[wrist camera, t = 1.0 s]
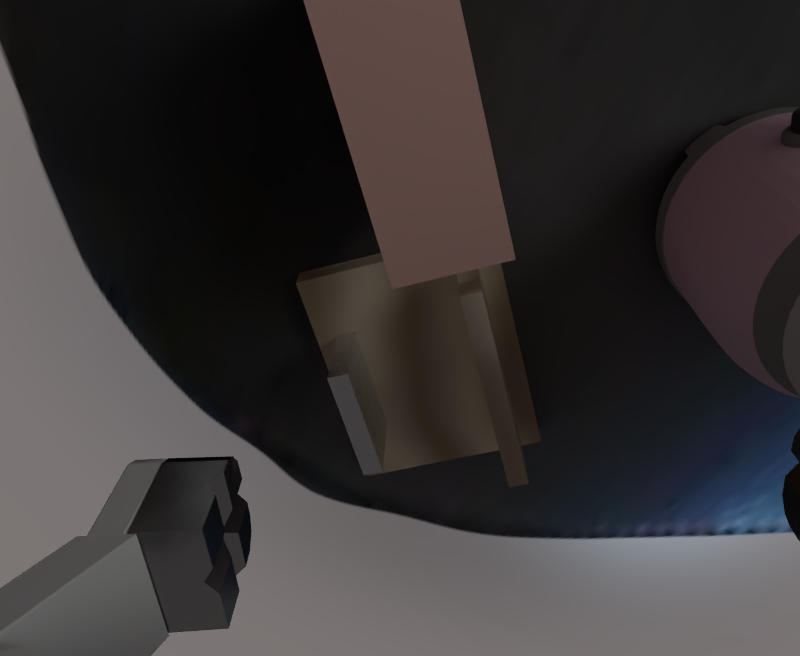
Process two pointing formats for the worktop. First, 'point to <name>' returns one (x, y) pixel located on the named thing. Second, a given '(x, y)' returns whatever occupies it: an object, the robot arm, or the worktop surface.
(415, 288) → the beige panel with ridge
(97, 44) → the worktop surface
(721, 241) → the blender
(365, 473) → the grey thin rectangular slab
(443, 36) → the boxed book
